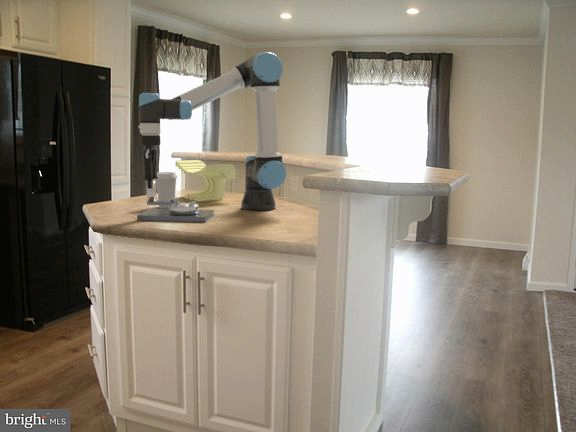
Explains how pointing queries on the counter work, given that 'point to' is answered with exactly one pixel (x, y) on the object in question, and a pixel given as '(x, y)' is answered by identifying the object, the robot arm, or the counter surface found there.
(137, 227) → the counter surface
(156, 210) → the plate
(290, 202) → the counter surface
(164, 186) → the coffee cup
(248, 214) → the counter surface
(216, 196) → the slatted curved stool
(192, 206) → the lever with amber grip
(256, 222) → the counter surface
